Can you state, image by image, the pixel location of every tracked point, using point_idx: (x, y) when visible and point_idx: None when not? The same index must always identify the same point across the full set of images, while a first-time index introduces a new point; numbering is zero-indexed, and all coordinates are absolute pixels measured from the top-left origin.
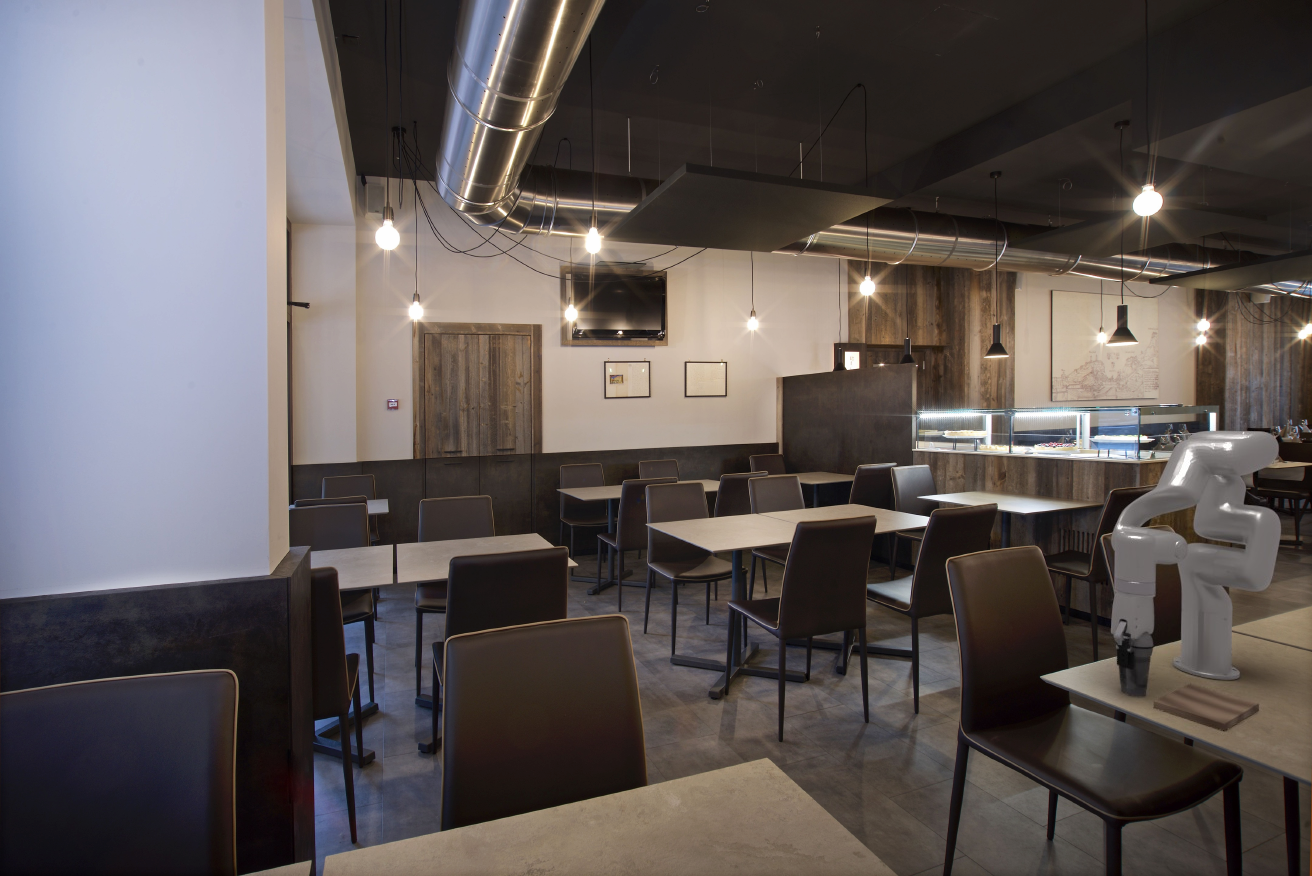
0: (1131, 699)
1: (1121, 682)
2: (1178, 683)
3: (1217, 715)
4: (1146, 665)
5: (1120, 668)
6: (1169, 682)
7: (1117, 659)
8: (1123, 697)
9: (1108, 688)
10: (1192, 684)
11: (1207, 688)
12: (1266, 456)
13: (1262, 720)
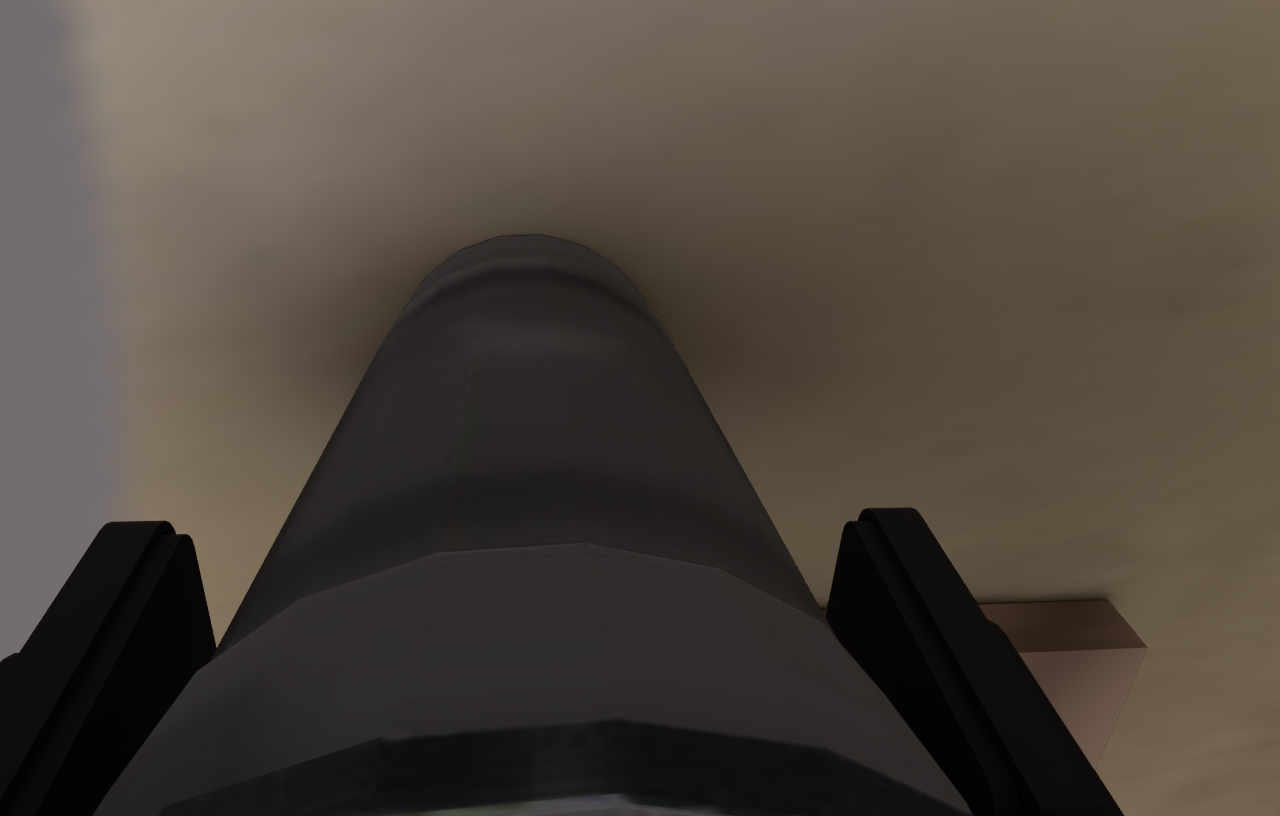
0: (286, 429)
1: (394, 327)
2: (1244, 484)
3: None
4: None
5: (336, 436)
6: (1219, 429)
7: (59, 608)
8: (253, 357)
9: (384, 111)
10: (1126, 667)
11: (1099, 754)
12: None
13: None
